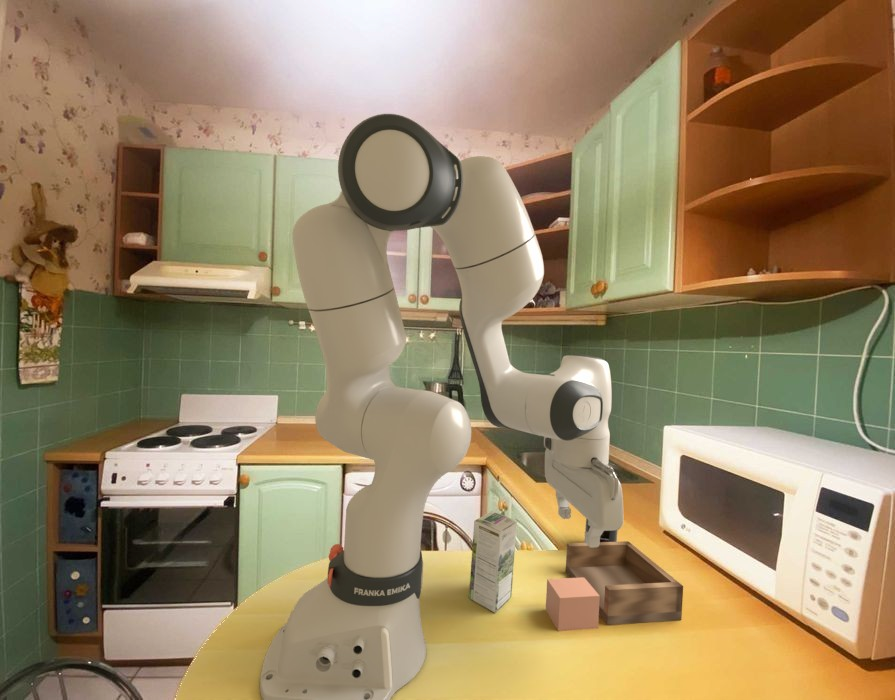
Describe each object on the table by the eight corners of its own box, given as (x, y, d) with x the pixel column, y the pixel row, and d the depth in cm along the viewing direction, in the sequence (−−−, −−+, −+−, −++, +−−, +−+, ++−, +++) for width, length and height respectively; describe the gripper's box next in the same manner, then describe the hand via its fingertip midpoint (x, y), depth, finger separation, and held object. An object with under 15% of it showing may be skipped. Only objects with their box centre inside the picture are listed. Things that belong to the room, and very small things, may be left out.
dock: (607, 625, 63) (609, 590, 63) (565, 571, 77) (567, 543, 77) (681, 619, 65) (683, 586, 65) (626, 568, 80) (628, 541, 80)
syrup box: (485, 584, 72) (489, 509, 72) (512, 598, 68) (517, 519, 68) (468, 598, 67) (472, 518, 67) (496, 614, 64) (500, 530, 64)
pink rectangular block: (558, 631, 61) (560, 598, 61) (545, 610, 66) (547, 579, 66) (597, 628, 62) (599, 595, 62) (582, 608, 67) (584, 577, 67)
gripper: (637, 470, 54) (632, 565, 54) (570, 435, 74) (566, 504, 74) (597, 471, 53) (592, 567, 53) (540, 435, 73) (536, 504, 73)
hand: (577, 530), depth 64 cm, fingers open, 8 cm apart
